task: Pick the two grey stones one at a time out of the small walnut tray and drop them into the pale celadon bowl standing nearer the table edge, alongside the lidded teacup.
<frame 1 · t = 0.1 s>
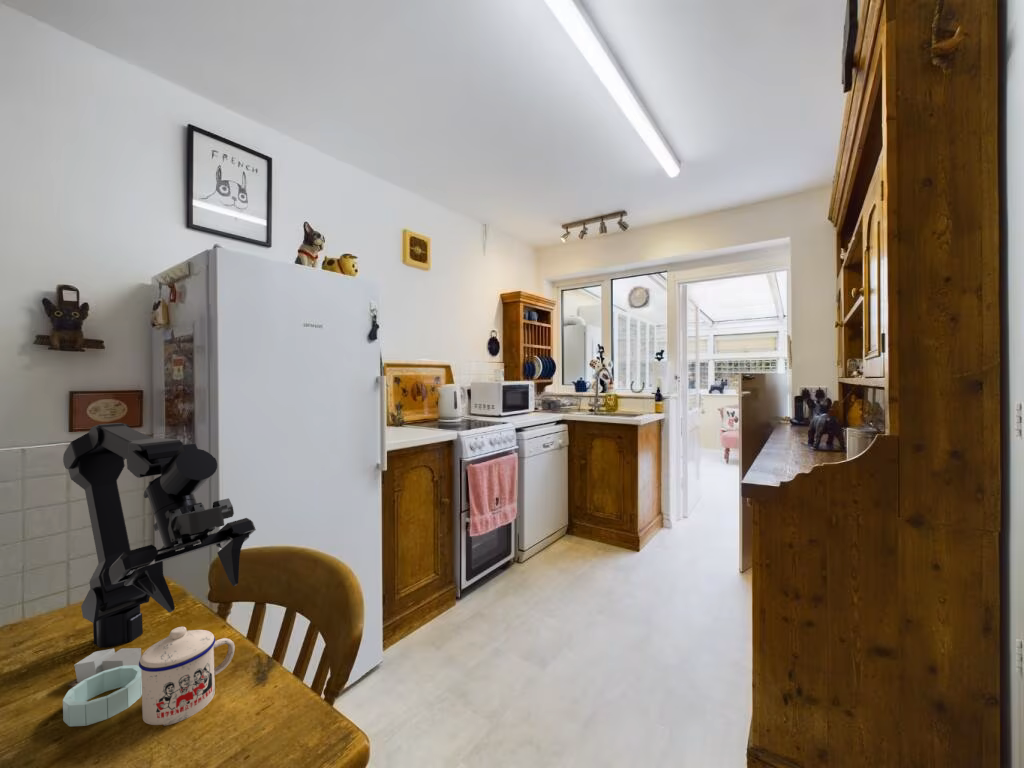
hand: (205, 597, 68), 15 cm above the table, tool tilted 30°, fingers open, 9 cm apart
bowl: (105, 707, 65), on the table
pebble b: (122, 674, 72), resting on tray
teacup with lid: (191, 702, 66), on the table
pebble a: (98, 676, 72), point 1 cm above the table, tilted 9°, touching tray
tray: (114, 675, 73), on the table
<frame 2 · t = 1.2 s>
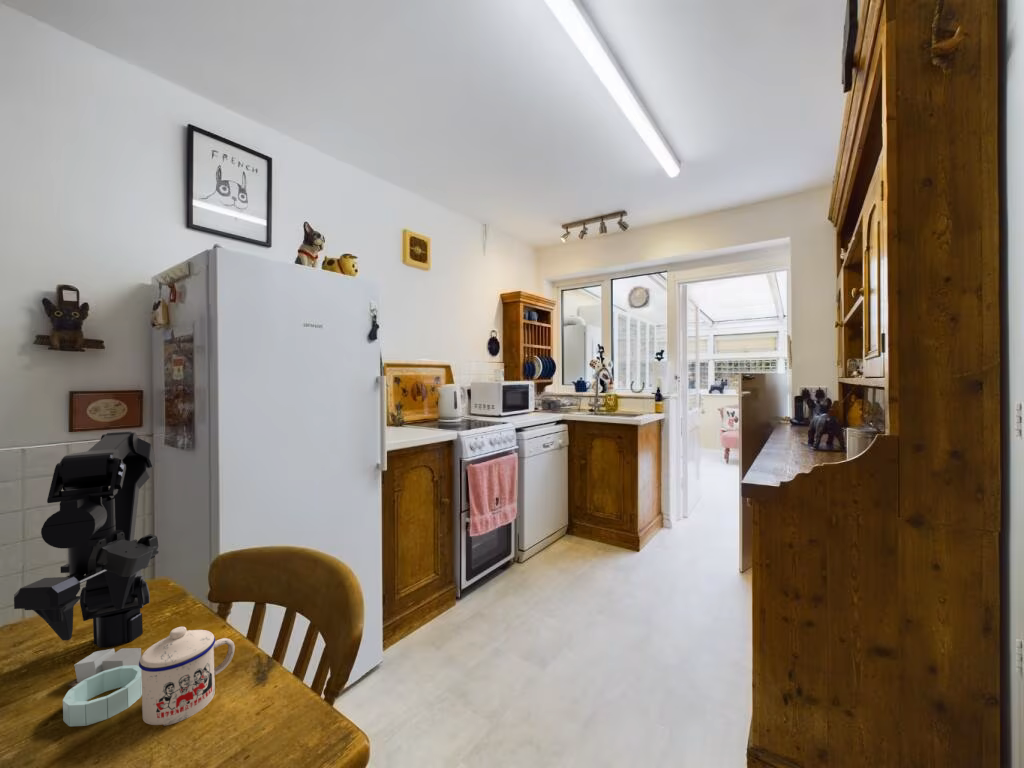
hand: (94, 623, 71), 10 cm above the table, tool pointing down, fingers open, 9 cm apart
nothing on the table moved.
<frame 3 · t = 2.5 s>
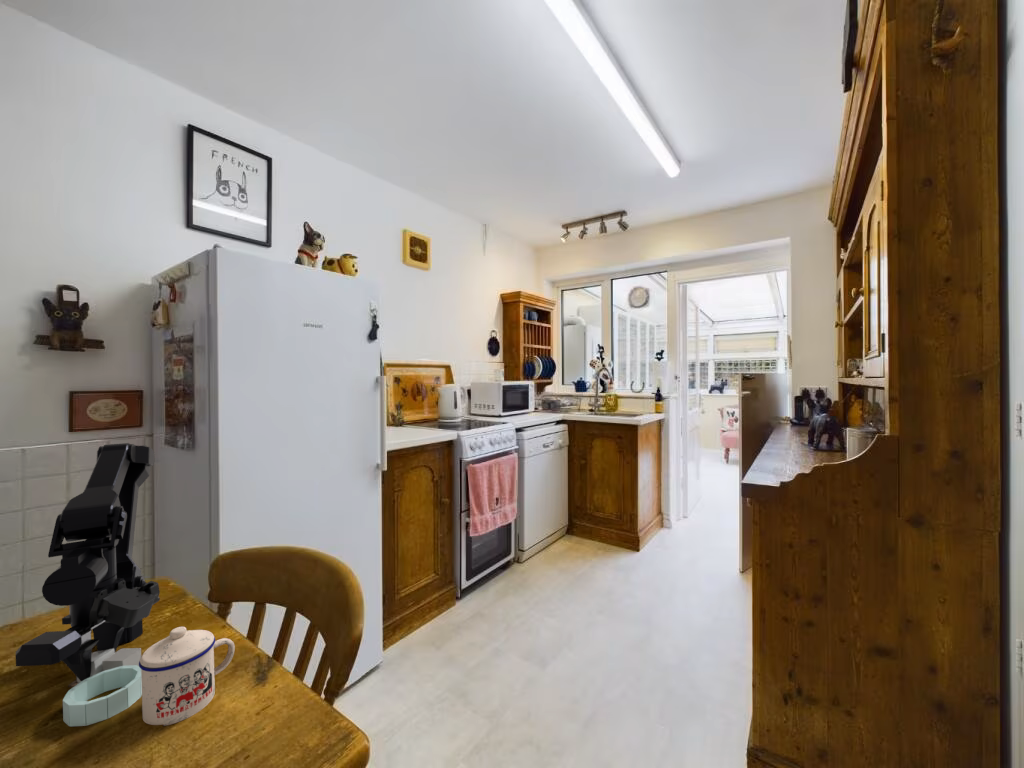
hand: (96, 672, 72), 1 cm above the table, tool pointing down, fingers closed on pebble a, 3 cm apart
pebble a: (98, 676, 72), point 1 cm above the table, tilted 9°, touching gripper, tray
everything else where it was.
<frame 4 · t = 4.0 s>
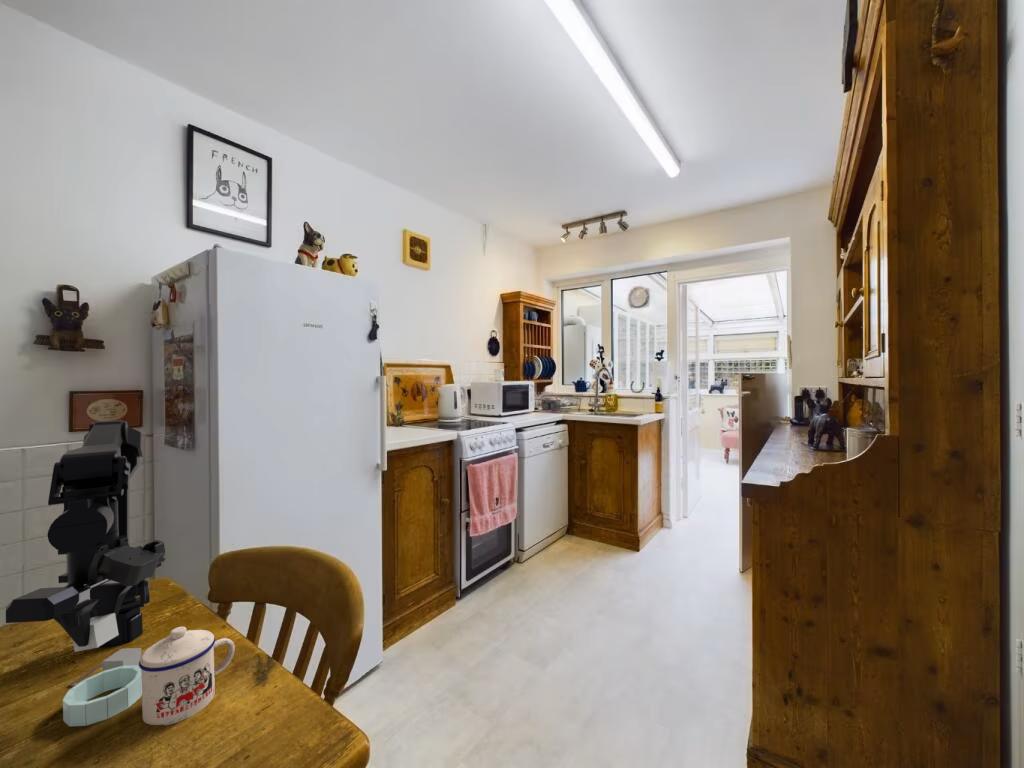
hand: (95, 638, 65), 11 cm above the table, tool pointing down, fingers closed on pebble a, 3 cm apart
pebble a: (97, 643, 65), point 10 cm above the table, tilted 9°, touching gripper
everything else where it was.
when the fingers open (4 cm above the table, at t = 5.5 s): pebble a drops 3 cm, resting on bowl.
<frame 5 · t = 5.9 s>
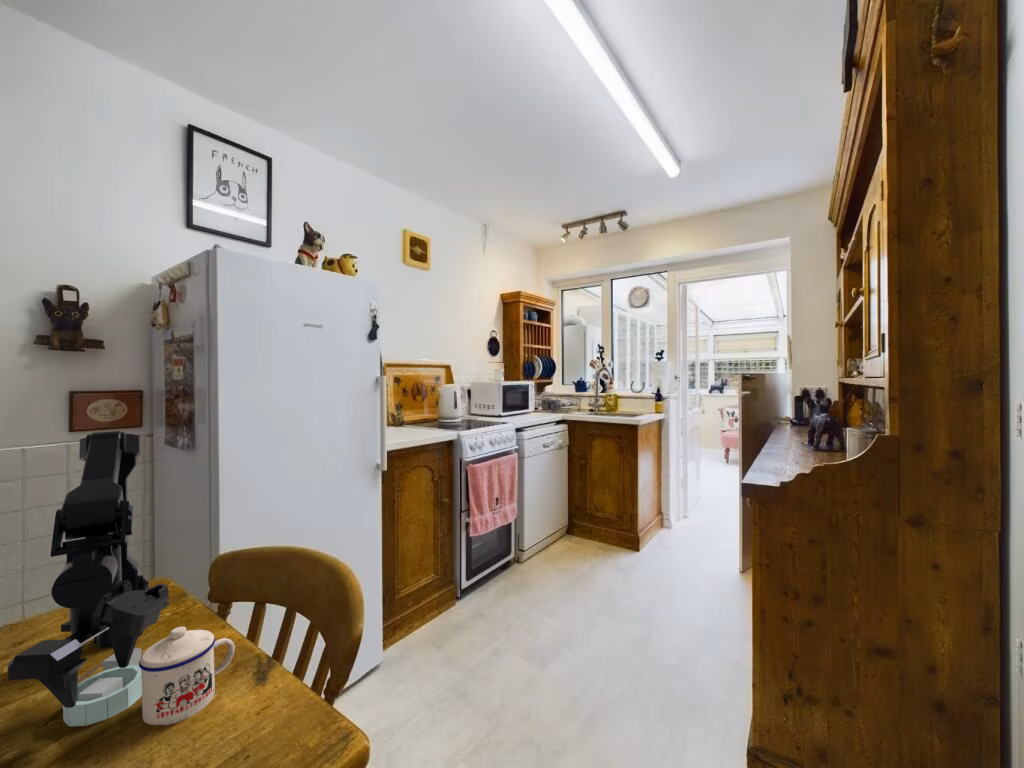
hand: (98, 685, 64), 4 cm above the table, tool pointing down, fingers open, 8 cm apart
pebble a: (101, 708, 64), point 1 cm above the table, touching bowl
everything else where it was.
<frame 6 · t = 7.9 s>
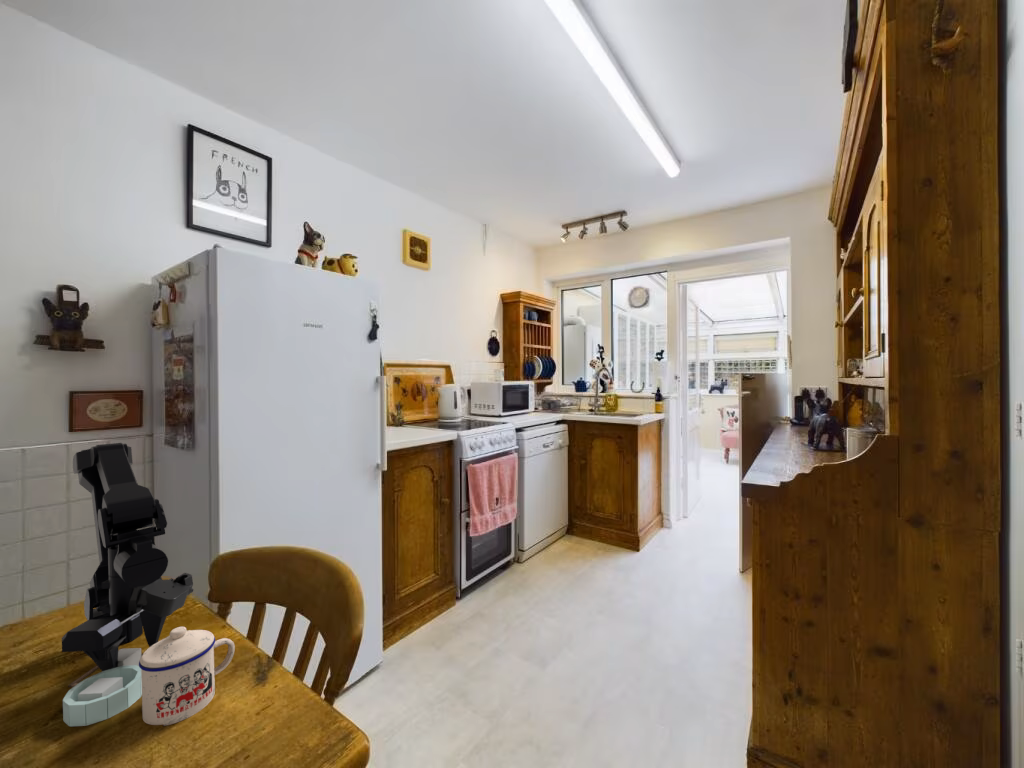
hand: (133, 660, 74), 1 cm above the table, tool pointing down, fingers open, 8 cm apart
nothing on the table moved.
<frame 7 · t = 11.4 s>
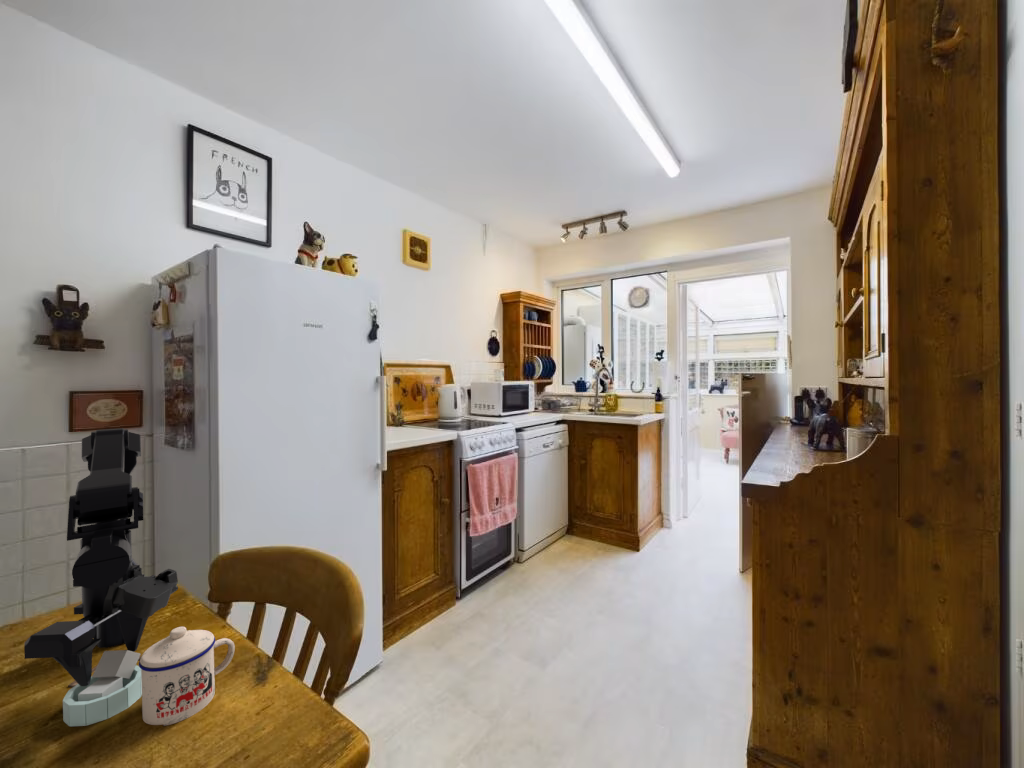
hand: (110, 667, 66), 6 cm above the table, tool pointing down, fingers open, 8 cm apart
pebble b: (111, 678, 66), point 4 cm above the table, tilted 40°, touching bowl, pebble a
pebble a: (101, 708, 64), point 1 cm above the table, touching bowl, pebble b
everything else where it was.
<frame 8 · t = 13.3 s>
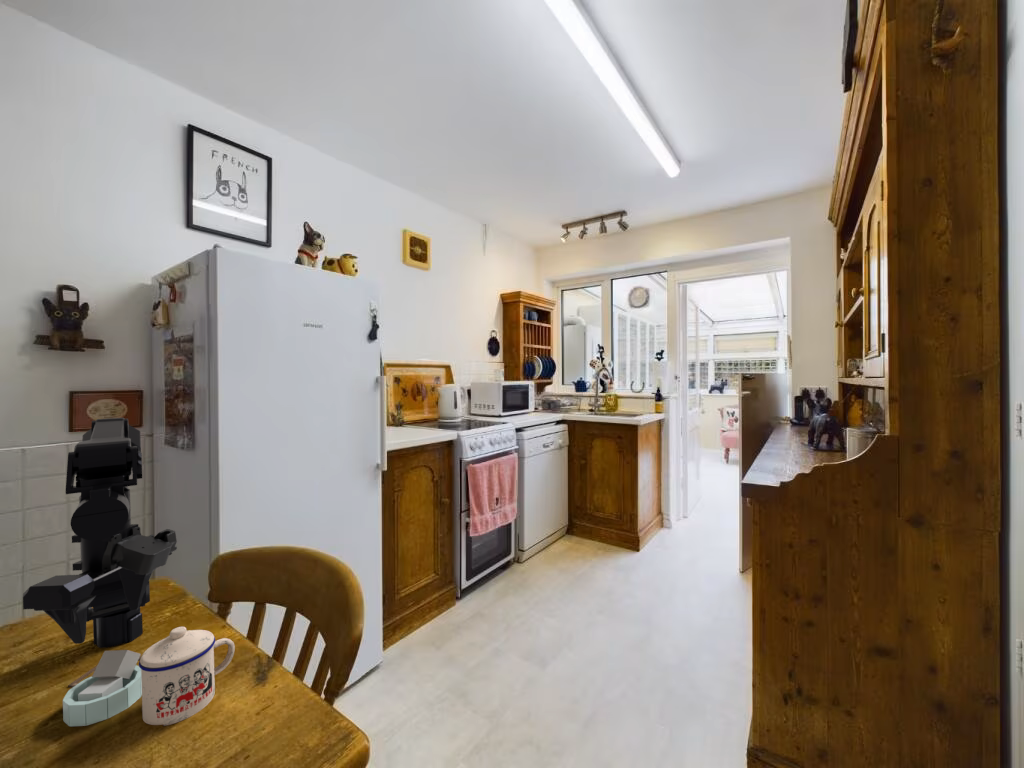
hand: (109, 625, 66), 12 cm above the table, tool pointing down, fingers open, 9 cm apart
nothing on the table moved.
at the end: pebble a 1.0 cm from the bowl (horizontally); pebble b 1.1 cm from the bowl (horizontally); pebble b point 3.8 cm above the table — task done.
